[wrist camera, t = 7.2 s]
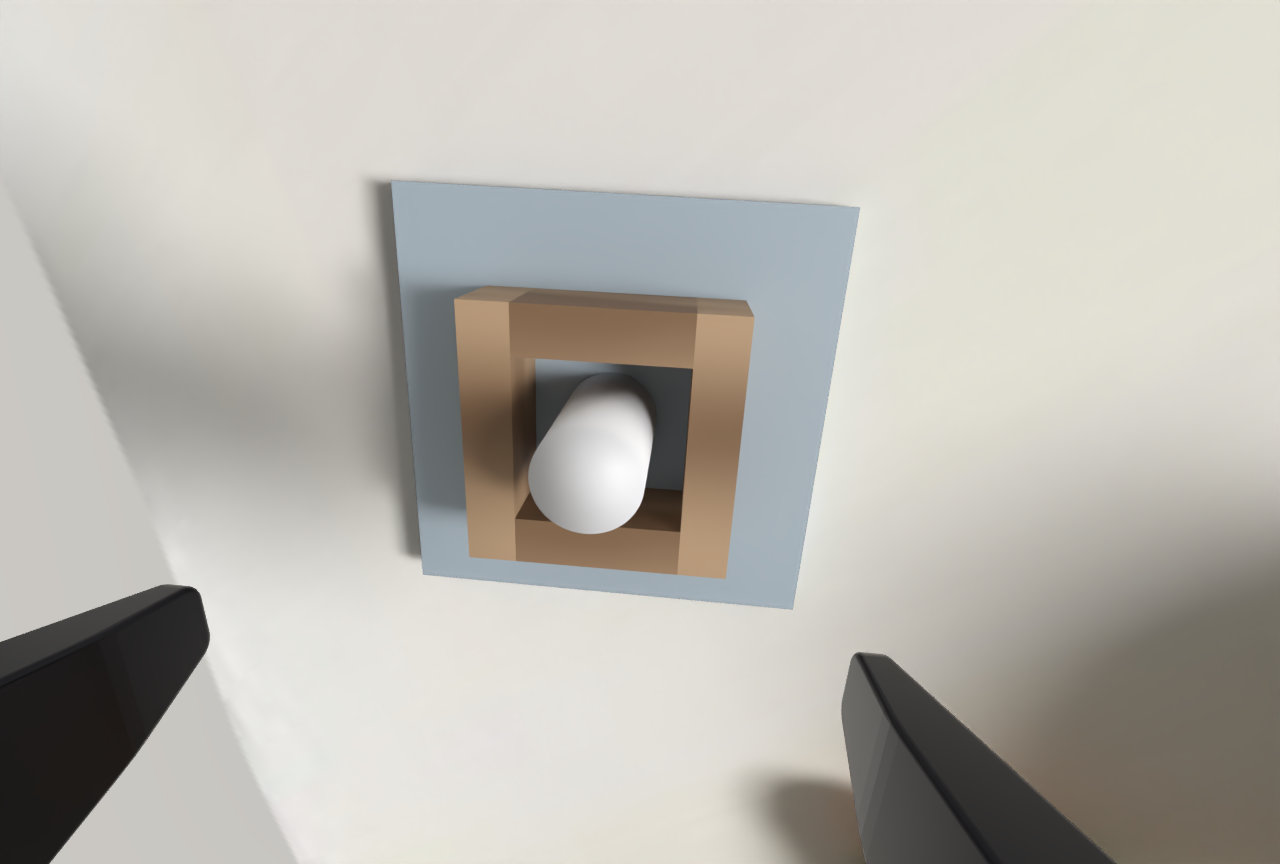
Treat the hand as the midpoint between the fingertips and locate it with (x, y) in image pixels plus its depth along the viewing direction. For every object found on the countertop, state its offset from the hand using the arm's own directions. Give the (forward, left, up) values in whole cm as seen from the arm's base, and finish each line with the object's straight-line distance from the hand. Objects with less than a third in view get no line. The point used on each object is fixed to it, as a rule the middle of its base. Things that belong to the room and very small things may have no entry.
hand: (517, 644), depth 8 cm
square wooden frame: (0, 0, -10) cm, 10 cm away
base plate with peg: (0, 0, -11) cm, 11 cm away
